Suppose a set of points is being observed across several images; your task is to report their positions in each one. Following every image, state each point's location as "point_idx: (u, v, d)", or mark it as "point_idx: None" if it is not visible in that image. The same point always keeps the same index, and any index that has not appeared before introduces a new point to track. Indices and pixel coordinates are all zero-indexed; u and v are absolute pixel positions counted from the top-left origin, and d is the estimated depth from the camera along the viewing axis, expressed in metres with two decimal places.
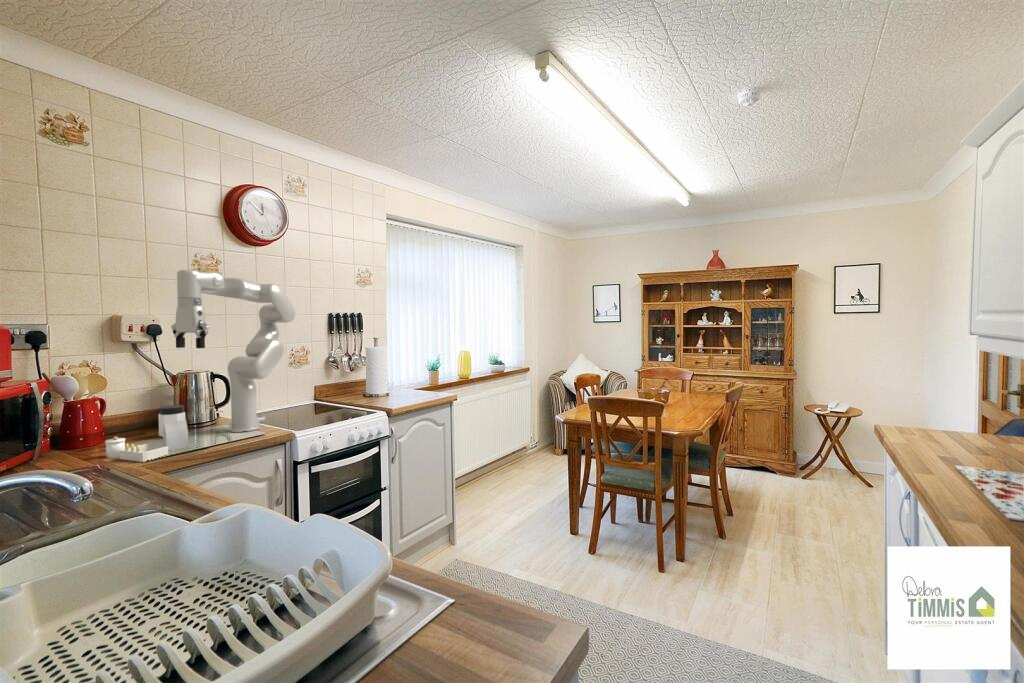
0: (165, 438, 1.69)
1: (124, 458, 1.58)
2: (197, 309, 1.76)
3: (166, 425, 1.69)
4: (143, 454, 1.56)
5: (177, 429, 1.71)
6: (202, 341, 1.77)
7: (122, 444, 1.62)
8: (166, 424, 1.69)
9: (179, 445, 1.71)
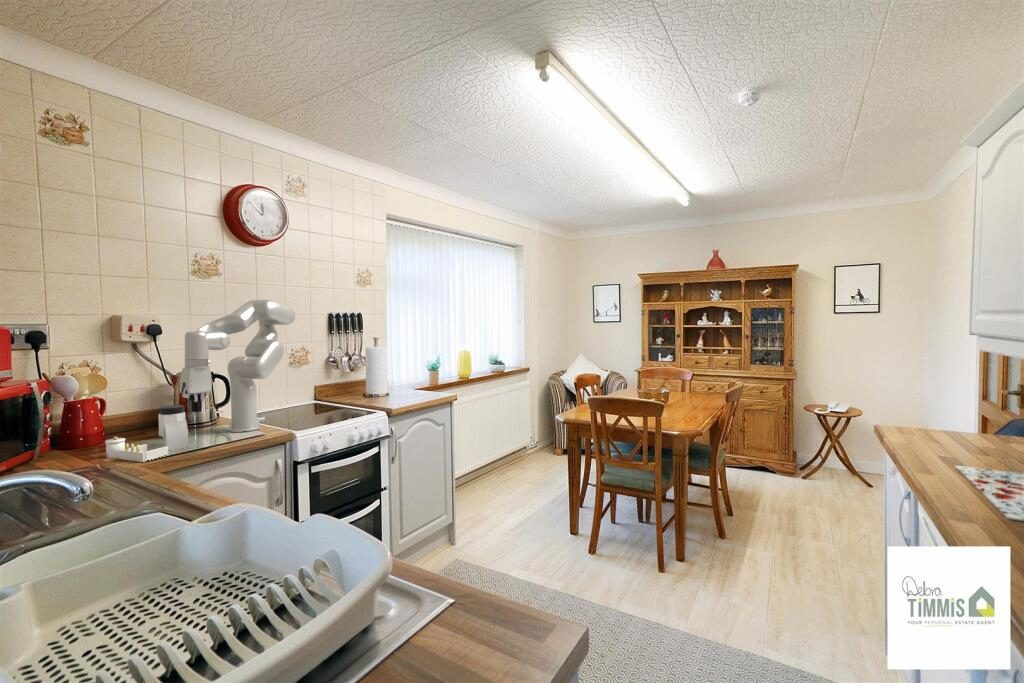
0: (165, 438, 1.69)
1: (124, 458, 1.58)
2: None
3: (166, 425, 1.69)
4: (143, 454, 1.56)
5: (177, 429, 1.71)
6: None
7: (122, 444, 1.62)
8: (166, 424, 1.69)
9: (179, 445, 1.71)
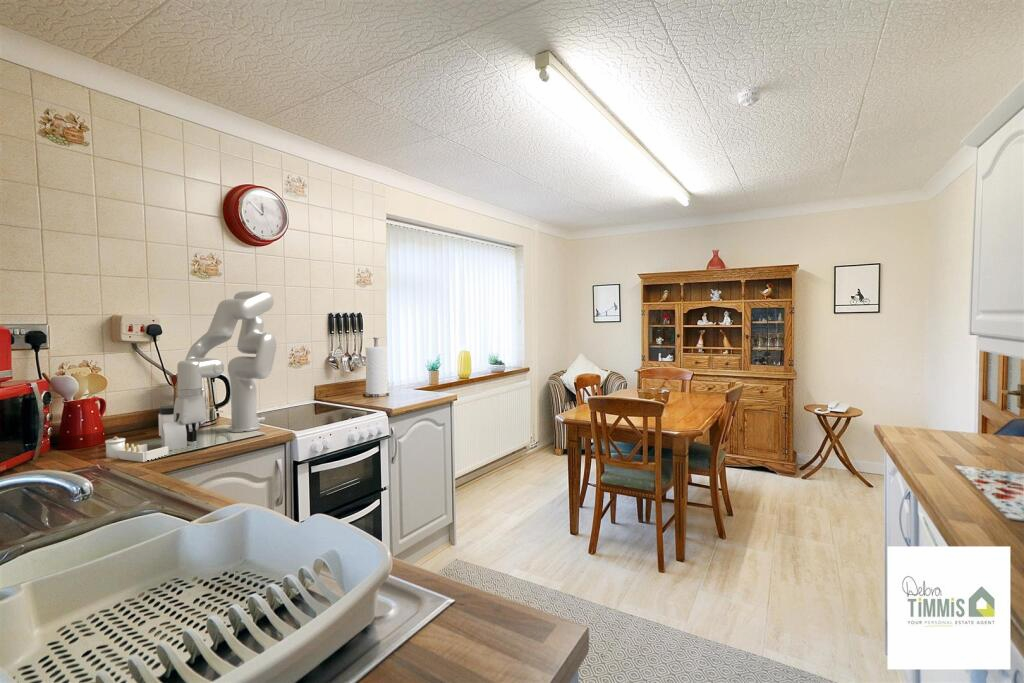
0: (163, 438, 1.68)
1: (124, 458, 1.58)
2: None
3: (164, 425, 1.69)
4: (143, 454, 1.56)
5: (175, 429, 1.71)
6: None
7: (122, 444, 1.62)
8: (164, 424, 1.69)
9: (177, 445, 1.71)
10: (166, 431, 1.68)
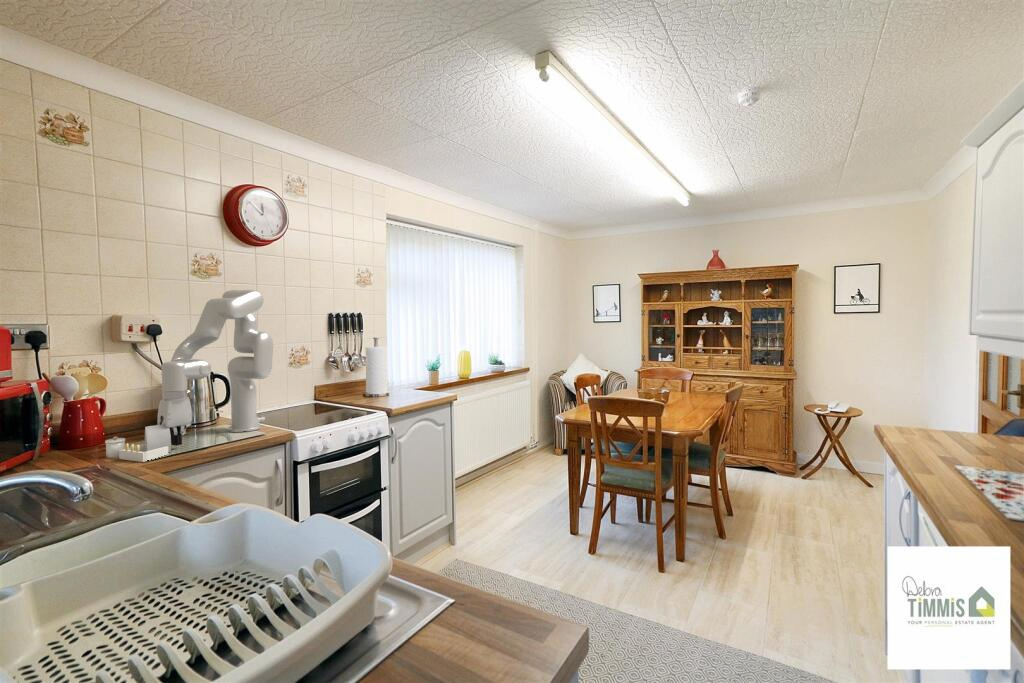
0: (146, 442, 1.63)
1: (124, 458, 1.58)
2: None
3: (147, 429, 1.63)
4: (143, 454, 1.56)
5: (158, 433, 1.65)
6: None
7: (122, 444, 1.62)
8: (147, 428, 1.63)
9: None
10: (149, 435, 1.63)
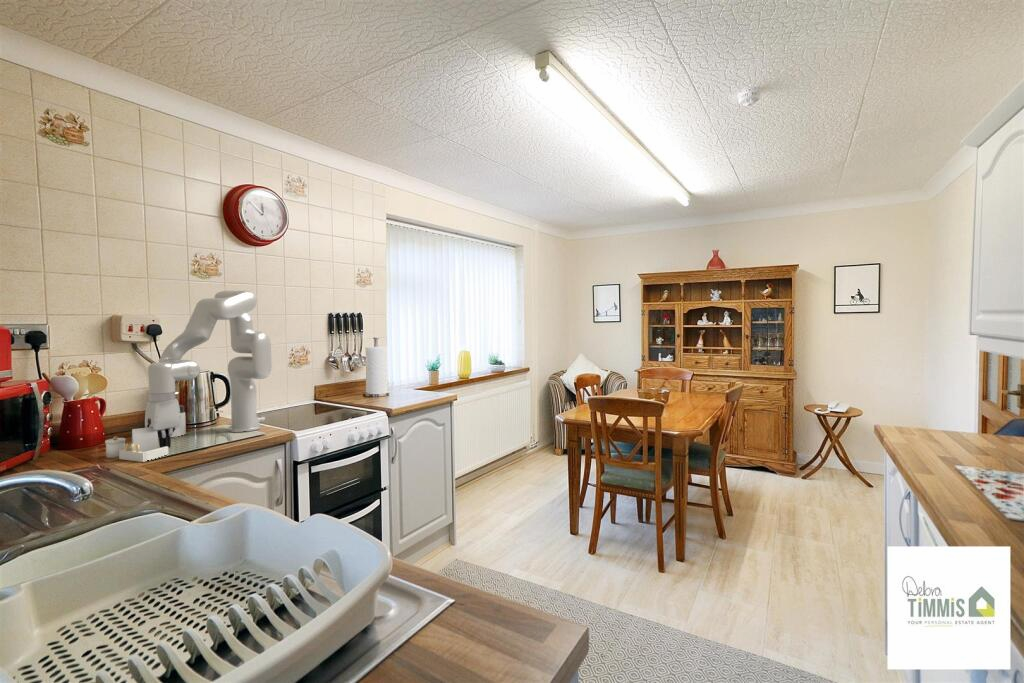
0: None
1: (124, 458, 1.58)
2: None
3: (134, 431, 1.59)
4: (143, 454, 1.56)
5: (145, 435, 1.61)
6: None
7: (122, 444, 1.62)
8: (134, 430, 1.59)
9: None
10: (135, 437, 1.59)
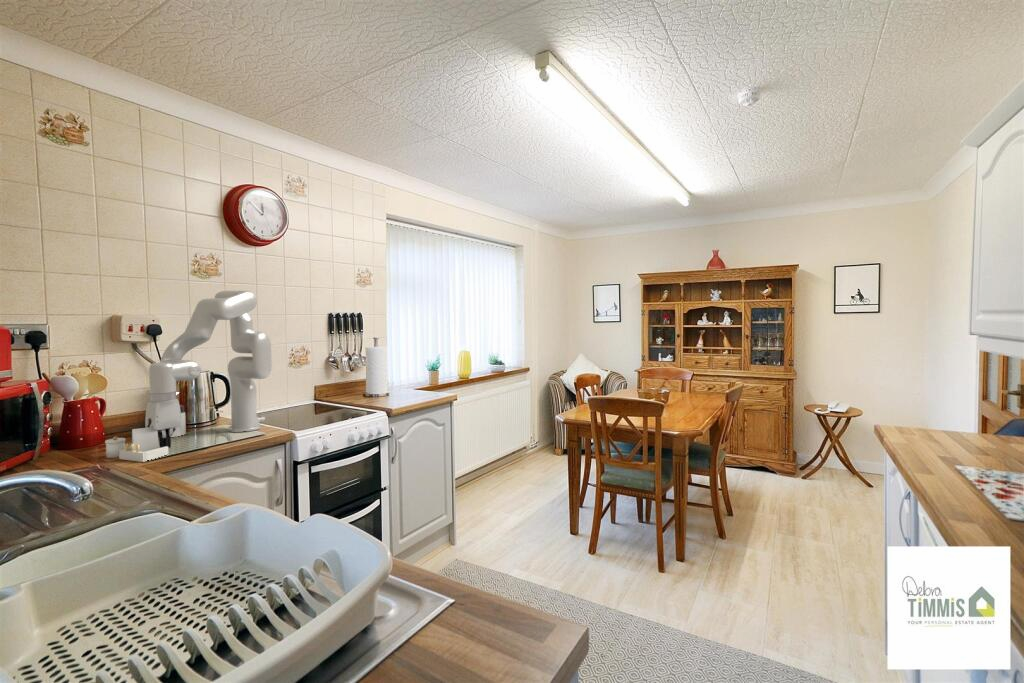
0: None
1: (124, 458, 1.58)
2: None
3: (134, 431, 1.59)
4: (143, 454, 1.56)
5: (145, 435, 1.61)
6: None
7: (122, 444, 1.62)
8: (134, 430, 1.59)
9: None
10: (135, 437, 1.59)
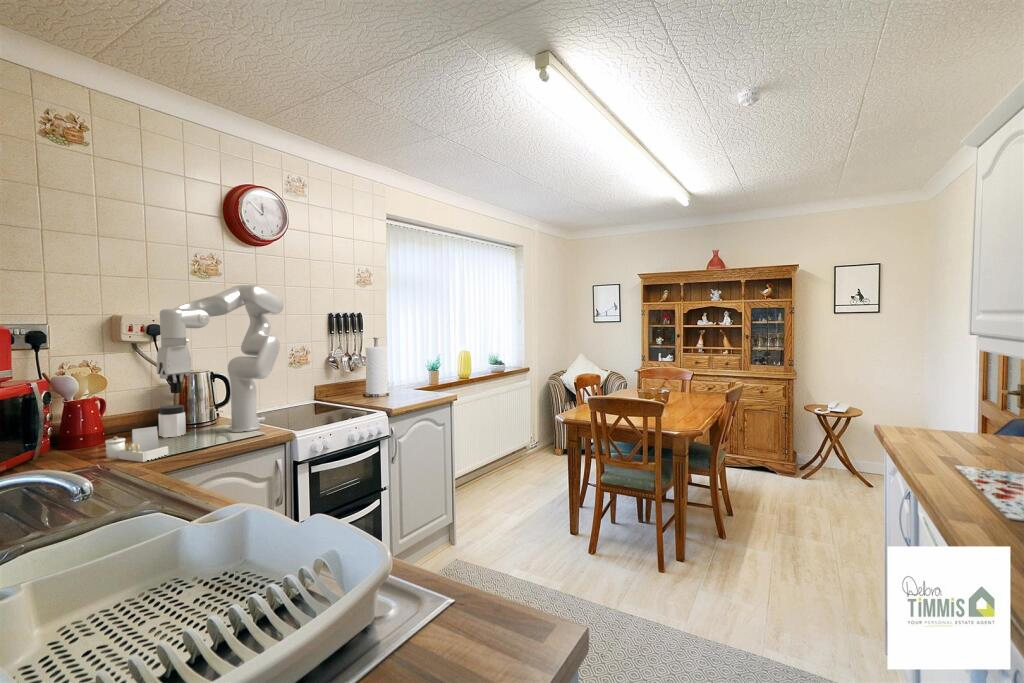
0: None
1: (124, 458, 1.58)
2: None
3: (134, 431, 1.59)
4: (143, 454, 1.56)
5: (145, 436, 1.61)
6: None
7: (122, 444, 1.62)
8: (134, 430, 1.59)
9: None
10: (135, 438, 1.59)
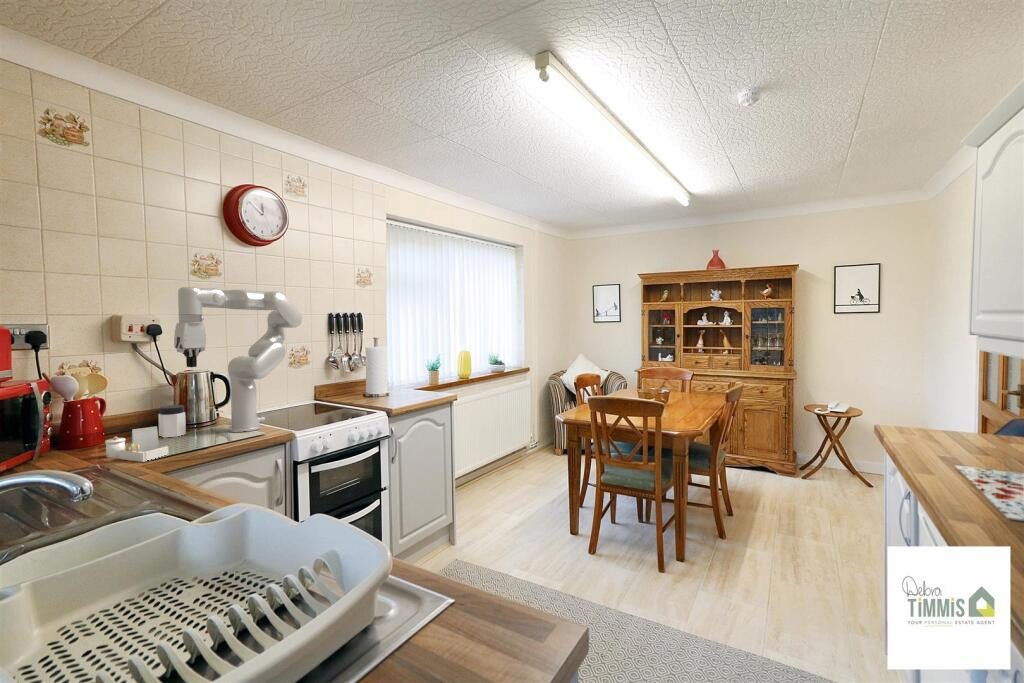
0: None
1: (124, 458, 1.58)
2: None
3: (134, 431, 1.59)
4: (143, 454, 1.56)
5: (146, 435, 1.61)
6: None
7: (122, 444, 1.62)
8: (134, 430, 1.59)
9: None
10: (135, 438, 1.59)
